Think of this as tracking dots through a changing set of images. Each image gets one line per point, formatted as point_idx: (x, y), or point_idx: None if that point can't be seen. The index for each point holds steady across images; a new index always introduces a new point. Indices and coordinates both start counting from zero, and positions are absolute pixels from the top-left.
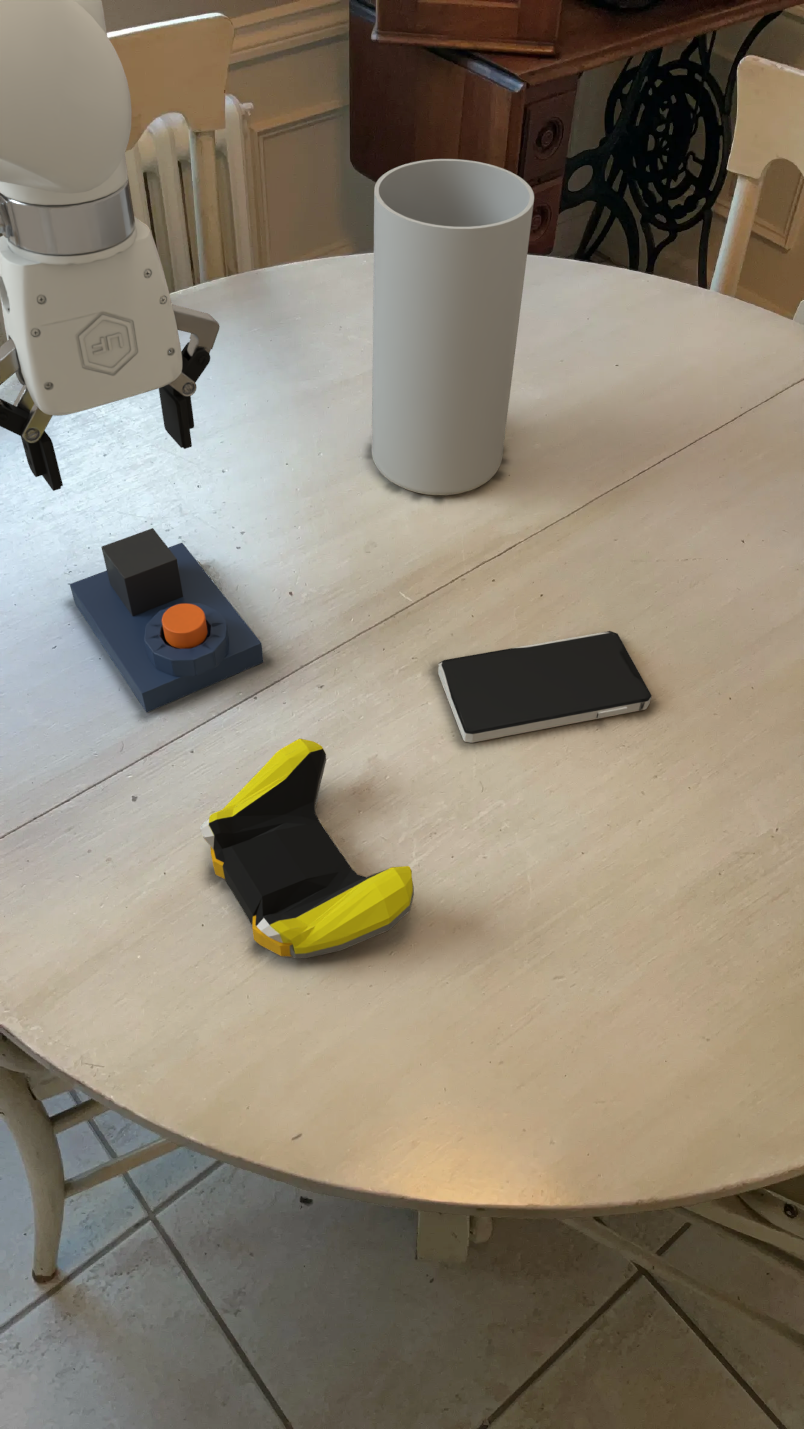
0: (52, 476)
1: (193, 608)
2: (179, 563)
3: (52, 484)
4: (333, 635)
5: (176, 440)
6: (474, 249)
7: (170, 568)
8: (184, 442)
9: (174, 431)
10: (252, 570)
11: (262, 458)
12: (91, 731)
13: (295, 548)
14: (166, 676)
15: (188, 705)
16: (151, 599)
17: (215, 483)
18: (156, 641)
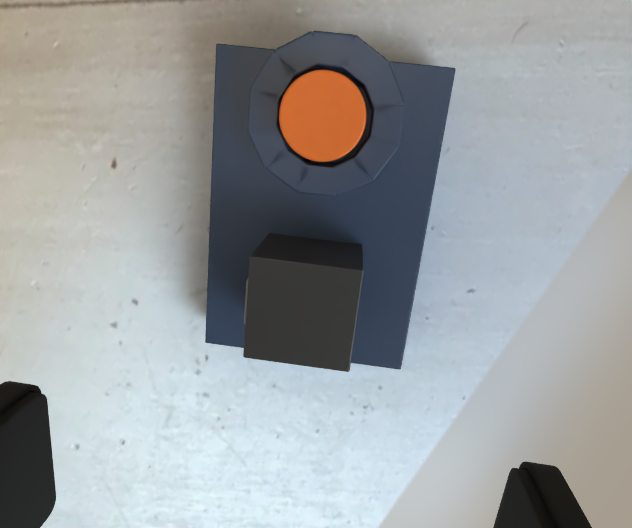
0: (575, 514)
1: (291, 128)
2: (233, 303)
3: (567, 486)
4: (100, 31)
5: (42, 434)
6: None
7: (269, 253)
8: (15, 400)
9: (17, 464)
10: (140, 247)
11: None
12: (535, 96)
13: (59, 247)
14: (397, 79)
15: (382, 45)
16: (323, 245)
17: (99, 433)
18: (383, 127)
